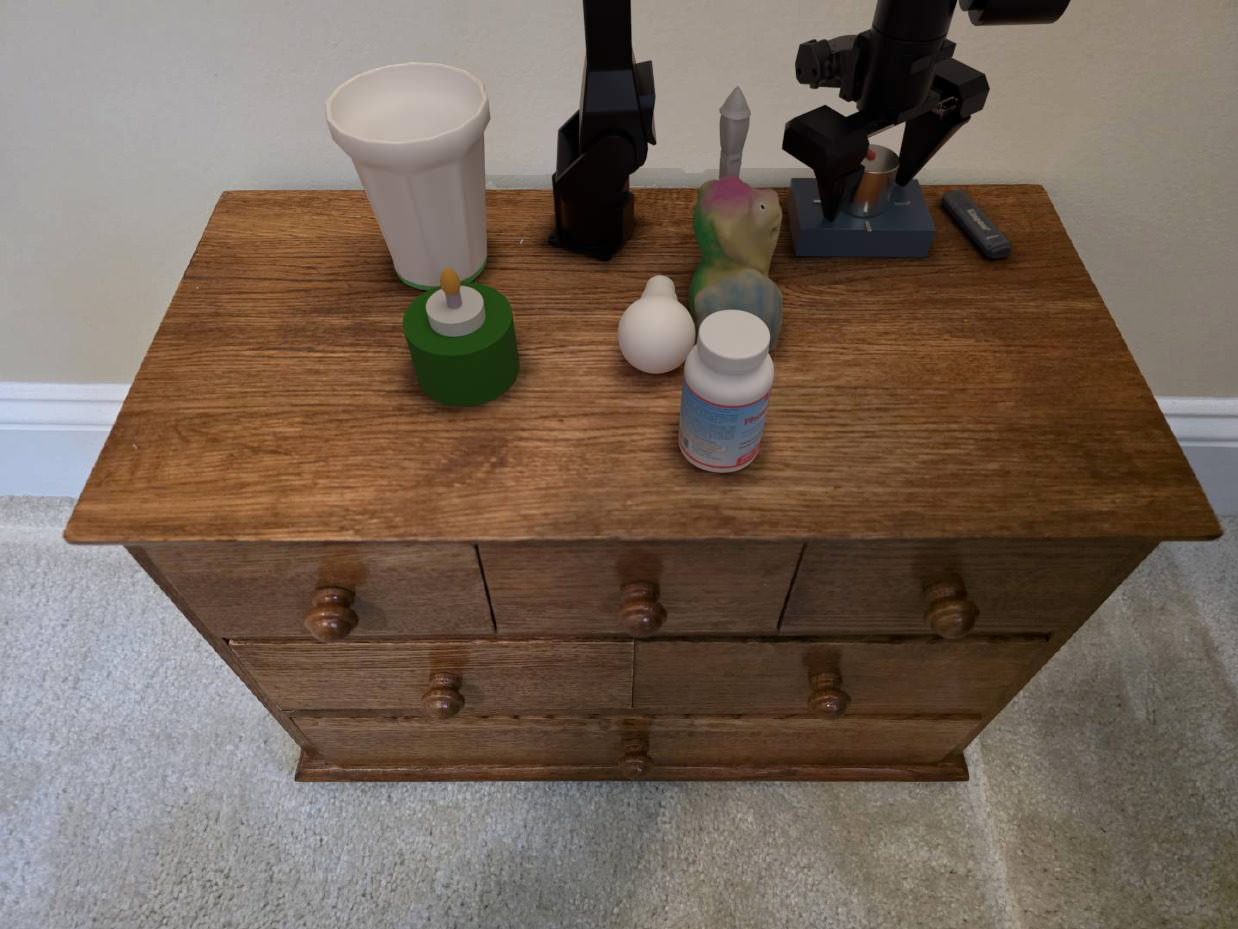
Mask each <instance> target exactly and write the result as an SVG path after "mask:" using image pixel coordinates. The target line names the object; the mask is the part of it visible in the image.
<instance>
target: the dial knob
mask: <svg viewBox="0 0 1238 929" xmlns="http://www.w3.org/2000/svg"><path fill="white" fill-rule="evenodd" d="M861 164H862V165H864V166H865V170H864V171H863V173H862V175H861V177H860V179H859V180H858V182H857V184H856V186H855V187H854V189H853V191H852V193H851V194H850V196H849V198H848V200H847V202H846V203H845V205H844V207H843V209H842V210H843V211H845V212H847V213H849V214H851V215H854V216H859V217H873V216H877V215H879V214H881V213H883V212H884V211H885V209H886V208H887V204H888V201H889V198H890V194H891V191H892V188H893V184H894V181H895V178H896V174H897V171H898V168H899V164H900V159H899V154H897V153H896V151H894V150H892V149H891V148H888V147H886V146H884V145H879V144H875V143H874V144H873V143H870V144H869V148H868V152H867V156H866V157H865V158H864V160H863V161H862V162H861Z"/></svg>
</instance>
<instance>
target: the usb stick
mask: <svg viewBox="0 0 1238 929" xmlns="http://www.w3.org/2000/svg"><path fill="white" fill-rule="evenodd" d="M940 204H941V205H942V206H943V207H944V208H945V210H946V211H947V212H948V213H949V214H950V215H951V216H952V219H954V220H955V221H956V223H957V225H959V226H960V227H961V228H962V229H963V231H964V232H965V233H966V234H967V235H968V237H969V238H970V239H971V240H972V241H973V242H974V243H975V244H976V245H977V247H978V248H979V249H980V250H981V252H982V253H983V254H984V256H986V258H989V259H1000V258H1005V257H1008V256H1010V255H1011V253H1012V248H1013V246H1012V242H1010V240H1008V238H1007V237H1006V236H1005V235H1004V234H1003V233H1002V232H1001V230H1000V229H999V228H998V227H997V226H996V225H995V224H994V223H993V221H992V220H991V219H990V218H989V217H988V216H987V215H986V214H985V213H984V212H983V211H982V209H981V208H980V207H979V206H978V205H977V204H976V203H975V202H974V200H972V199H971V197H970V196H969V195H968V194H967V193H966V192H965V190H963V189H956V190H951V191H949V192H946V193H944V194H943V195H942V197H941V199H940Z"/></svg>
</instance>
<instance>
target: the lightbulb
mask: <svg viewBox="0 0 1238 929" xmlns="http://www.w3.org/2000/svg"><path fill="white" fill-rule="evenodd" d="M694 342H695V326H694V323H693V320H692V317H691V313H690V311H688V309H687V308H686V306H684V305H683V304H682V303H681V302H680V301H679V300H678V295H677V293H676V287H675V283H674V282H673V280H672V279H671V278H670V277H669V276H666V275H662V274H661V275H659V274H658V275H655V276H652V277H651V278H649V279H648V281H646V284H645V288H644V290H643V292H642V293H641V296H640V298H639V299H636V301H634V302H632V303H631V304H630V305H629V306H627V308H626V310H625V311H624V312H623V314H622V316H620V320H619V322H618V326H617V343H618V347H619V349H620V353H621V354H622V355H623V358H625V360H626V361H627V363H629V364H630V365H631V366H632V367H634V368H635V369H637V370H639V371H641V372H643V373H648V374H656V375H658V374H664V373H668V372H671V371H673V370H675V369H678V367H680V366H681V365H683V364H684V363H685V361H686V358H687V356H688V354H689V352H690V351H691V349H692V348H693V346H694Z"/></svg>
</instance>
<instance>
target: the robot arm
mask: <svg viewBox="0 0 1238 929" xmlns="http://www.w3.org/2000/svg"><path fill="white" fill-rule="evenodd" d="M1070 3H1071V0H877V1H876V5H875V6H876V7H875V10H874V14H873V19H872V23H871V28H869V29H866V30H864V31H861V32H859V33H857V34H844V35H840V36H836V37H833V38H831V39H827V38H822V39H820V40H817V39H816V38H814V39H810V40H807V41H805V42H802V43H799V45H798V49H797V53H796V57H795V61H794V69H795V79H796V80H797V82H798V84H800V85H805V86H809V89H811V90H818V89H819V88H830V89H839V91H838V98H840V99H841V100H842V101H845V102H846V103H852V102H854V103H855V104H856V105H855V109H856V110H857V111H856V112H853V113H852V114H849V115H847V116H845V115H844V114H842V113H841V112H839V111H837V110H835V108H834V109H833V108H832V107H830V106H829V105H827V104H823V105H821V106H818V107H816V108H814V109H811V110H809V111H807V112H804V113H802V114H799V115H796V116H794V117H793V118H791V119H790V120H788V121H787V122H785V124H784V128H783V129H784V130H783V131H784V132H783V136H782V143H781V150H783V152H785V153H787V154H788V155H790V156H791V157H792V158H794V159H796V160H797V161H799V162H800V163H802V164H803V165H805V166H806V167H808V168H810V169H811V170H812V171H813V174H814V178H816V181H817V186H818V191H819V196H820V201H821V206H822V211H823V216H824V218H826V219H827V220H828V221H830V222H833V221H835V220H836V218H837V217H838V215H839V213H840V212H841V210H842V209H843V207H844V205H845V203H846V202H847V200H848V198H849V196H850V194H851V193H852V191H853V189H854V187H855V186H856V184H857V182H858V180H859V179H860V177H861V175H862V173H863V171H864V170H865V166H864V165H862V164H861V162H862V161H863V160H864V158H865V157H866V156H867V152H868V148H869V144H871V143H870V140H869V138H872V137H874V136H877V135H879V134H881V133H883V132H885V131H887V130H889V129H892V128H894V127H897V126H899V125H901V124H904V130H903V134H902V138H901V143H900V149H899V154H898V157H899V159H900V164H899V168H898V171H897V174H896V178H895V183H896V184H898V185H899V186H901V187H905V186H906V185H907V184H908V183H909V182H910V181H911V180H912V179H915V177H916V176H917V175H918V173H920V171H922V169H923V168H924V167H925V166H926V165H927V164H928V163H929V162H930V160H931V159H932V158H933V157H934V156H935V155H936V154H937V153H938V152H939V151H940V150H941V149H942V148H943V147H944V145H946V143H948V141H950V139H951V138H952V137H953V136H955V134H956V133H957V132H959V130H960V129H961V128H962V127H963V126H964V125H966V124H968V123H969V122H970V120H971V118H972V115H974V114H976V113H979V112H981V111H982V110H984V107H985V105H986V101H987V99H988V96H989V93H990V90H991V88H990V85H989V81H988V78H987V76H986V73H984V72H982V71H980V70H977V69H976V68H974V67H972V66H970V65H968V64H966V63H964V62H962V61H960V60H958V59H956V58H953V57H954V54H955V51H956V48H957V42H954V41H952V40H951V39H949V38H947V37H948V34H949V30H950V28H951V24H952V21H953V17H954V15H955V10H956V6H957V4H958V5H959V9H960V10H961V12H967V16H968V17H969V22H970V23H971V24H972V25H973V26H975V27H992V26H993V27H995V26H1027V25H1028V26H1029V25H1033V26H1034V25H1052V24H1055V23H1056V22H1058V21H1059V19H1060V18H1061V17H1062V16H1063V15H1064V13H1065V12H1066V10H1068V7H1069V5H1070ZM582 11H583V26H584V27H583V28H584V29H583V30H584V42H585V55H584V60H583V61H584V62H583V63H584V64H583V69H582V78H581V87H580V96H579V105H578V107H579V108H578V109H577V110H576V111H575V112H574V113H573V114H572V115H571V116H570V117H569V118H568V119H567V120H566V121H565V122H563V124H562V125H561V126H560V127H559V128H558V130H557V138H556V140H557V142H556V162H555V163H556V164H555V171H554V172H553V173H552V175H551V184H552V199H553V210H554V223H555V225H554V226H555V228H554V229H553V230H552V231H551V232H550V234H549V235H548V236H547V243H548V244H549V245H551V246H554V247H557V248H561V249H565V250H568V251H571V252H574V253H578V254H581V255H583V256H584V255H585V256H589V257H591V258H594V259H598V260H601V261H610V260H611V259H613V257H614V255H615V254H616V253H617V252H618V250H619V249H620V248H621V247H623V245H624V244H625V243H626V242H627V241H628V239H629V238H630V236H631V235H632V234H633V233H634V230H635V228H636V226H637V222H638V220H637V219H636V218H635V194H634V192H633V191H630V185H631V184H630V183H631V182H630V176H631V175H632V174H635V173H636V172H637V171H638V170H639V169H640V168H641V167H643V166H644V165H645V163H646V161H647V159H648V153H649V144H650V145H652V146H657V132H656V131H657V130H656V123H655V107H656V98H657V96H656V86H655V76H654V65H653V60H652V59H650V60H645V61H641V62H637V61H636V57H635V56H636V55H635V53H634V48H633V33H632V32H633V31H632V29H633V28H632V0H582Z"/></svg>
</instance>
